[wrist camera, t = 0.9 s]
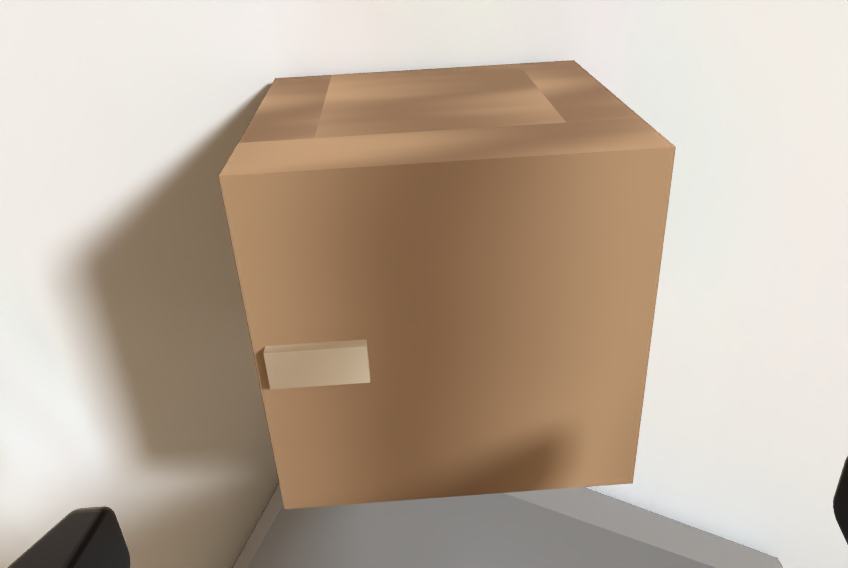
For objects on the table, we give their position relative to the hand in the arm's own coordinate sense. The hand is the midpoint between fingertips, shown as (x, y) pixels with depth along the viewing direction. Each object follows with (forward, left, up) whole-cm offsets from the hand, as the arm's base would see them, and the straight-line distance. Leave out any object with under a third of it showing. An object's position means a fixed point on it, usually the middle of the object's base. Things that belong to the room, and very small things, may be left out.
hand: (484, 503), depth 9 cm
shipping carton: (0, 0, -9) cm, 9 cm away
